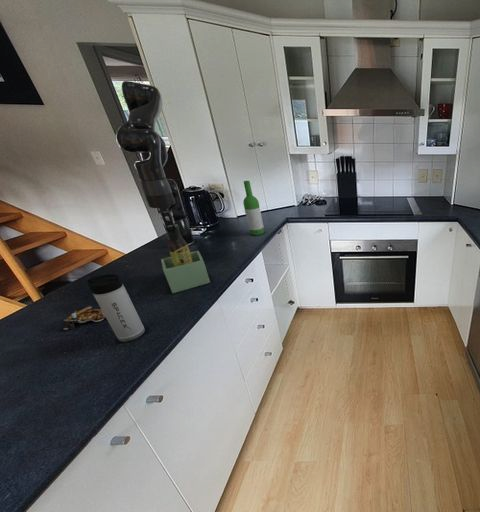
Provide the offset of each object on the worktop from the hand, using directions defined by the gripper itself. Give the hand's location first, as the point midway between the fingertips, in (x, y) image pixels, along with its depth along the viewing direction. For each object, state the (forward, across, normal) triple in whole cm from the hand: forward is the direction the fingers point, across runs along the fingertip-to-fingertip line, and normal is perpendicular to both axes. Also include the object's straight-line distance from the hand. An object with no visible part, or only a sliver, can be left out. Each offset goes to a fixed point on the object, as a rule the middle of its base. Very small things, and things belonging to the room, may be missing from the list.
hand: (174, 237), depth 102 cm
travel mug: (+19, +25, -18) cm, 36 cm away
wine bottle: (+19, -38, +38) cm, 57 cm away
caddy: (+19, 0, 0) cm, 19 cm away
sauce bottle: (+15, 0, 0) cm, 15 cm away
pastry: (+19, +7, -28) cm, 35 cm away
